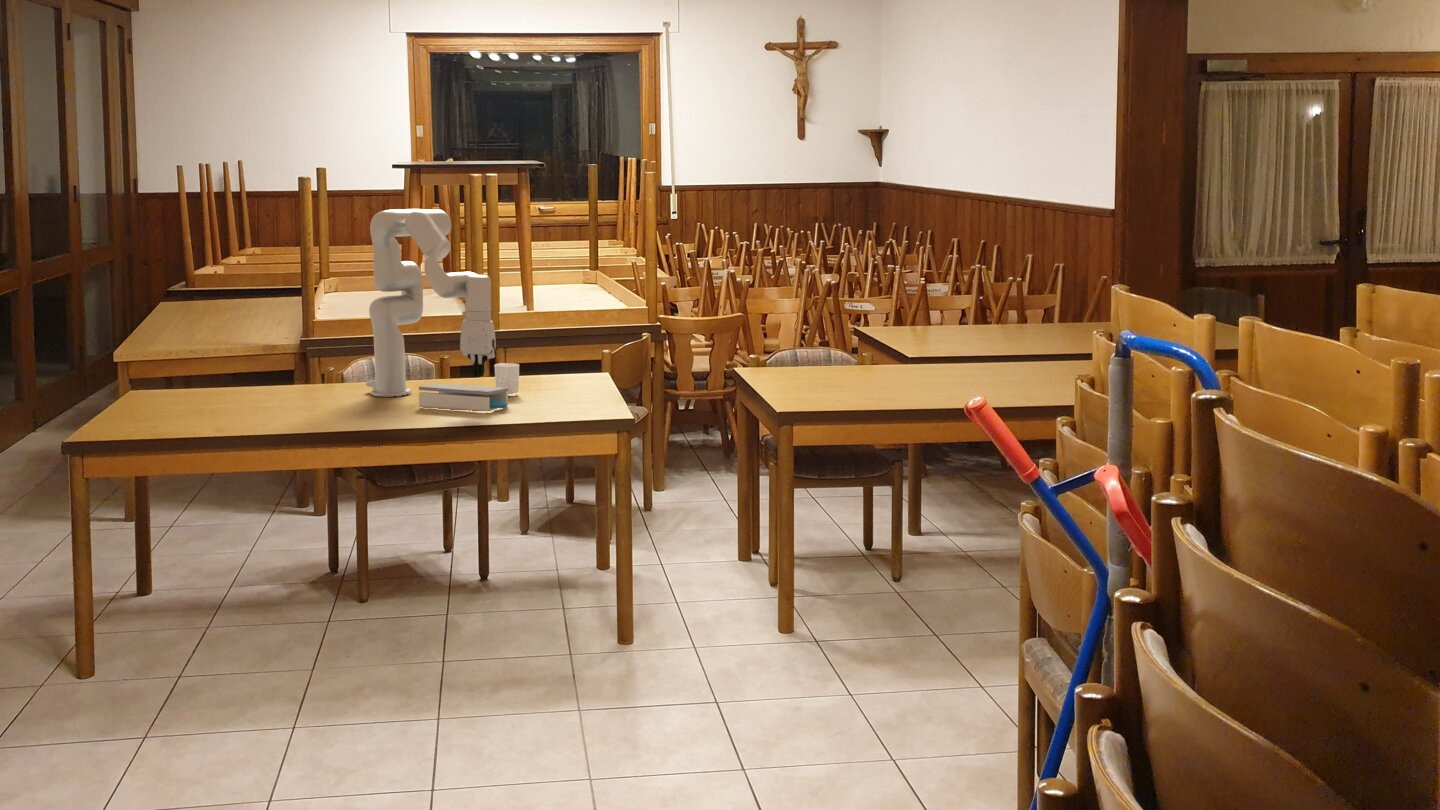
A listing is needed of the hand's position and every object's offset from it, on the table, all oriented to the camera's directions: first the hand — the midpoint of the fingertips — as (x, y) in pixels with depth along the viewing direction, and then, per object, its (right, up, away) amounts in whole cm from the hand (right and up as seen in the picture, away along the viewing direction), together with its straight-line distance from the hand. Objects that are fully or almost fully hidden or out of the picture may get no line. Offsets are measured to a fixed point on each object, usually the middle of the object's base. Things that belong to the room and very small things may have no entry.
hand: (478, 376), depth 431 cm
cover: (-5, -4, +4) cm, 8 cm away
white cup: (+5, -6, +28) cm, 29 cm away
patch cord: (-5, -9, +5) cm, 11 cm away
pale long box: (-5, -10, +5) cm, 12 cm away
